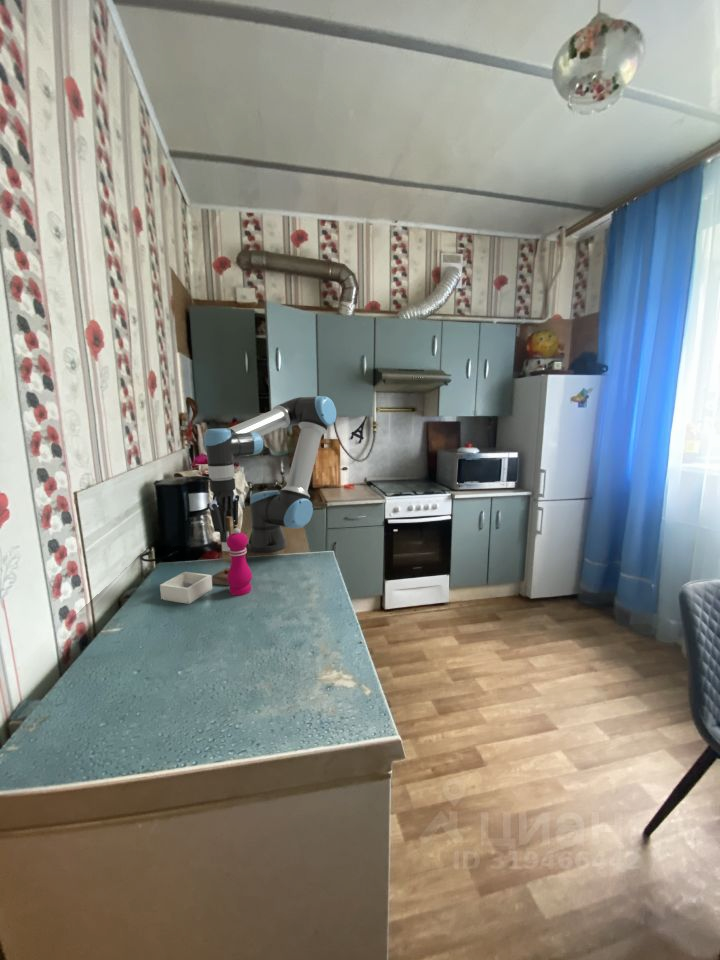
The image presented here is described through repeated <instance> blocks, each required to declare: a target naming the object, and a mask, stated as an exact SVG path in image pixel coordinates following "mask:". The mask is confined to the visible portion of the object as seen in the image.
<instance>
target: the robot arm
mask: <svg viewBox="0 0 720 960" xmlns="http://www.w3.org/2000/svg"><path fill="white" fill-rule="evenodd" d="M336 420H337V408H336V406H335V404H334V402H333V400H332V399H331V398H330V397H329V396H324V395H323V396H321V395H318V396H302V397H301V396H299V397H295V398H292V399H289V400H286V401H284V402H282V403H280V404H276V405H275V406H274V407H273V408H272V410H270V411H267V412H265V413H262V414H260V415H258V416H255V417H253V418H250V419H247V420H245V421H242V422H240V423H238V424H236V425H233V426H230V427H228V428H227V427H225V428H224V427H223V428H222V427H221V428H210V429H206V430H205V432H204V437H203V439H202V446H203V449H204V450H205V452H206V460H207V461H206V462H207V467H208V469H207V470H208V478H209V479H210V480H209V482H208V483H209V490H210V492H212V495H213V496H212V501H211V502H210V503H207V506H206V507H207V508H208V510H209V513H210V517H211V522H212V527H213V531H214V532H215V533H219V536H220V537H219V539H220V542H221V543H222V545H221V552H222V551H229V550H230V548H229V547H228V546H227V539H228V537H229V531H227V516H231V517H232V518H233V529H235V528H238V524H239V501H240V495H239V494H235V492H234V491H235V490H236V479H235V478H234V477H235V476H236V475H235V467H234V458H240V457H246V456H247V457H249V456H254V455H258V454H260V453H261V452H262V451H263V449H264V440H263V436H265V435H267V434H269V433H272V432H274V431H276V430H279V429H286V428H288V427H292V426H293V427H294V426H298V427H299V429H300V432H299V437H298V439H297V443H296V448H295V450H294V451H295V452H294V455H293V459H292V462H291V466H290V470H289V473H288V477H287V481H286V486H285V487H283V488H281V489H280V491H279V490H277V489H275V490H273V489H272V490H264V491H263V490H262V491H259V492H255V493H252V494H251V495H250V497H249V498H250V499H249V508H250V519H251V521H250V523H251V531H250V532H251V533H250V535H249V540H248V543H247V547H248V550H249V551H250V552H254V553H258V554H259V553H262V554H263V553H264V554H266V553H272V552H273V553H274V552H277V551H280V550H283V549H284V548H285V547H286V546H287V539H286V537H285V534H284V532H283V530H282V527H285V528H289V529H302V528H303V527H305V526H306V525H308V523H309V522H310V520H311V519H312V516H313V513H314V508H313V503H312V501H311V500H310V498H311V496H310V494H309V491H308V490H309V487H310V483H311V479H312V475H313V472H314V467H315V463H316V459H317V456H318V451H319V447H320V443H321V439H322V437H323V435H325V434H326V433H327V431H328V427H330V426H333V425H334V424H335V422H336ZM221 543H220V544H221Z"/></svg>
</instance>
